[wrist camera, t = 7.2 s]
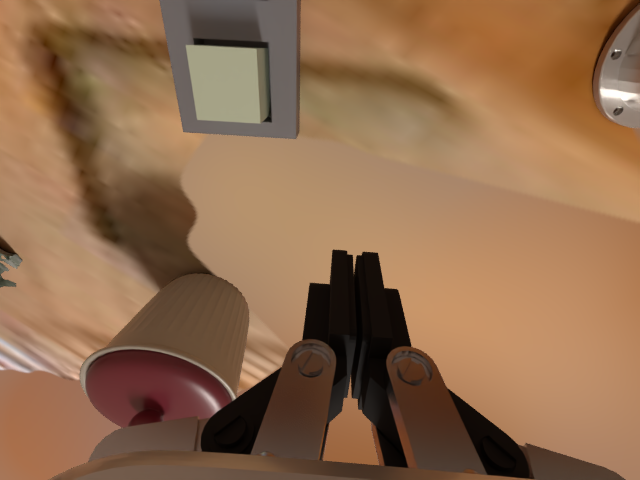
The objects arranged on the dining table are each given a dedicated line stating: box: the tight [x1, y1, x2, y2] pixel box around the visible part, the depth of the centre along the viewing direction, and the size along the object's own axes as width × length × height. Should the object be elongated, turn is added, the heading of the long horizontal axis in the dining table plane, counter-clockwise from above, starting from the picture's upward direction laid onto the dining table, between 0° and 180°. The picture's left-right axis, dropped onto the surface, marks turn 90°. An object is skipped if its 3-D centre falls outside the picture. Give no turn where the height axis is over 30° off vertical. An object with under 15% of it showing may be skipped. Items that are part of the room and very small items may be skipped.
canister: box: [80, 273, 249, 428], centre depth 41 cm, size 18×18×21 cm
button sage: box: [186, 45, 271, 124], centre depth 30 cm, size 6×6×5 cm
